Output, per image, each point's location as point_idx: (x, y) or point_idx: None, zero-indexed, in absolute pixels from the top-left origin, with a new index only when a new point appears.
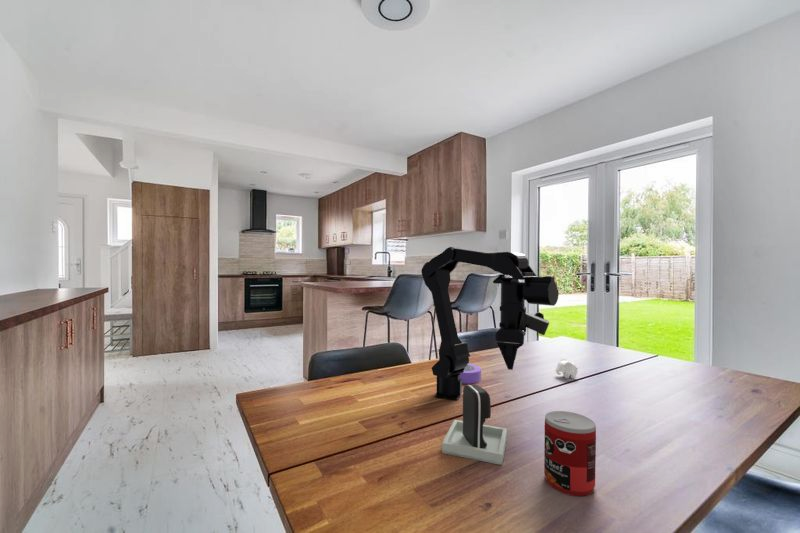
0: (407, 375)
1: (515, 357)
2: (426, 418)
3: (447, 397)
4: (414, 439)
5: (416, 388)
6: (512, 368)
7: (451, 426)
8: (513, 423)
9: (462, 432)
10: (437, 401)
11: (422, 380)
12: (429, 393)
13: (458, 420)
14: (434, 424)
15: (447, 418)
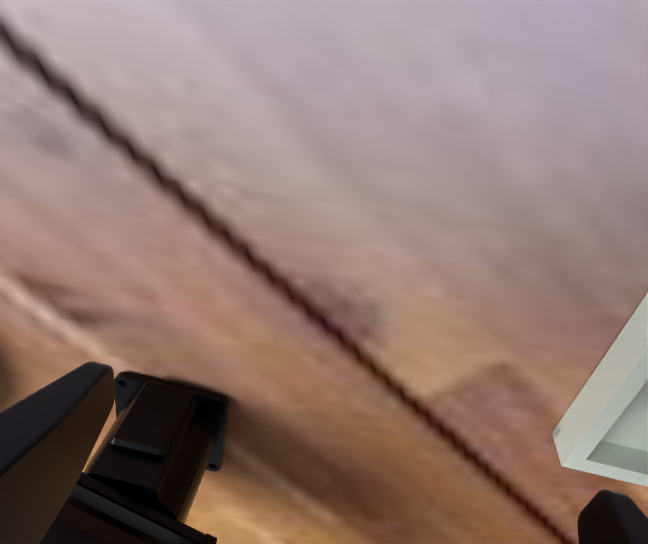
0: None
1: (87, 390)
2: (454, 500)
3: (225, 433)
4: None
5: None
6: (635, 509)
7: (637, 482)
8: (485, 175)
9: (624, 423)
10: (264, 458)
11: None
12: None
13: (571, 454)
14: (510, 484)
15: (446, 443)
